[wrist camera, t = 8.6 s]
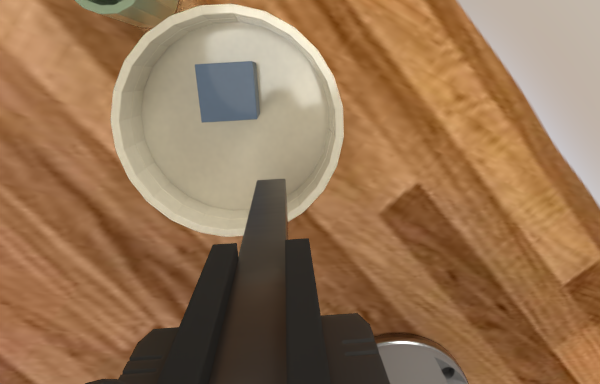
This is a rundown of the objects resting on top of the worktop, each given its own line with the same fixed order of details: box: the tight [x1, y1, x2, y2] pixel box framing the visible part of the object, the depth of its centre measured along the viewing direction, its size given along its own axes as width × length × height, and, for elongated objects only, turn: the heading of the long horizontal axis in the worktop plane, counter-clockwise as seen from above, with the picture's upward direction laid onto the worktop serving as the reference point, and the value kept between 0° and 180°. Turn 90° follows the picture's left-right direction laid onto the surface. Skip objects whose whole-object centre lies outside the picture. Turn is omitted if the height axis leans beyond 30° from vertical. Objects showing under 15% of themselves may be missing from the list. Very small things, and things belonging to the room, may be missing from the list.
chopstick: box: [208, 179, 288, 384], centre depth 14 cm, size 2×2×18 cm
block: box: [195, 61, 260, 123], centre depth 31 cm, size 4×4×4 cm
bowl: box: [111, 4, 344, 237], centre depth 32 cm, size 16×16×6 cm
